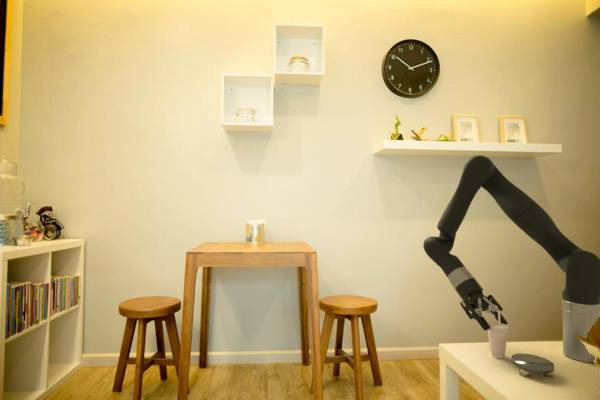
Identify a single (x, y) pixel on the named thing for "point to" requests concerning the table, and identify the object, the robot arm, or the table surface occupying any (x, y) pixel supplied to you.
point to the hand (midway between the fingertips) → (496, 327)
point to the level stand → (533, 365)
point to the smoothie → (498, 338)
